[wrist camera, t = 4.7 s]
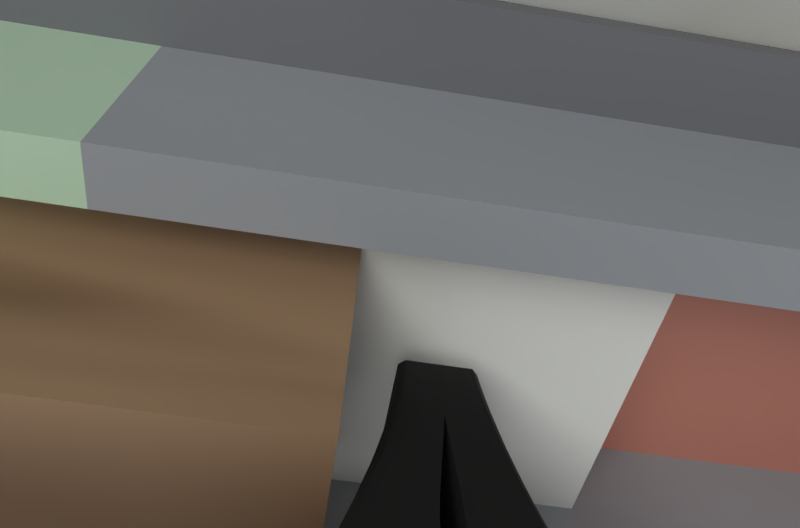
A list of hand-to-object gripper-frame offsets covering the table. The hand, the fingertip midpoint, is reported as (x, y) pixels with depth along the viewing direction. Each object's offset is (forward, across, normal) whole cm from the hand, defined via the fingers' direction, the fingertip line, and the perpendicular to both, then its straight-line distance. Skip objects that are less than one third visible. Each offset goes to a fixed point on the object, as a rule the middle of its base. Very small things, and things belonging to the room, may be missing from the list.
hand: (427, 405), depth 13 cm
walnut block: (+1, +4, 0) cm, 5 cm away
